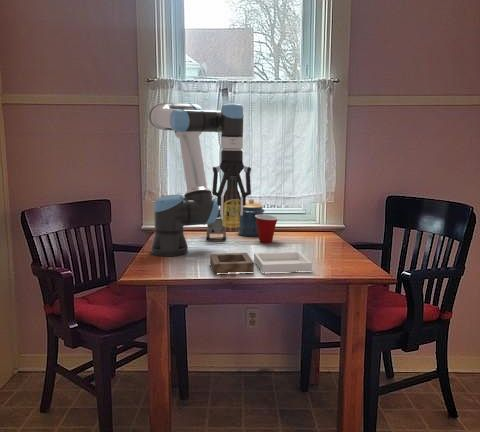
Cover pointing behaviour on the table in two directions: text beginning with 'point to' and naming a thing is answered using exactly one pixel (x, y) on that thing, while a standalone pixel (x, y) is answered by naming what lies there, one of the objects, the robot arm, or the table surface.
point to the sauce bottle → (231, 206)
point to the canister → (250, 218)
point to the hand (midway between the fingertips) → (231, 214)
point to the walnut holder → (231, 263)
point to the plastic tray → (282, 262)
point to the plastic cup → (266, 227)
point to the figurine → (216, 227)
